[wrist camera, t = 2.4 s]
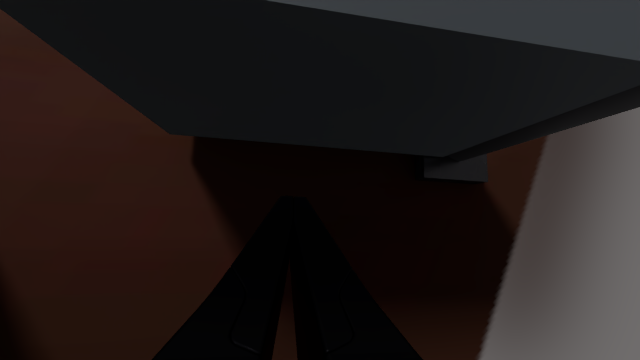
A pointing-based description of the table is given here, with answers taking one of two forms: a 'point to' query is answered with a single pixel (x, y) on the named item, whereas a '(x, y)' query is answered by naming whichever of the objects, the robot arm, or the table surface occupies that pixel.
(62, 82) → the table surface
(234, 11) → the gate panel
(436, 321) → the table surface
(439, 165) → the hinge base
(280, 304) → the robot arm
